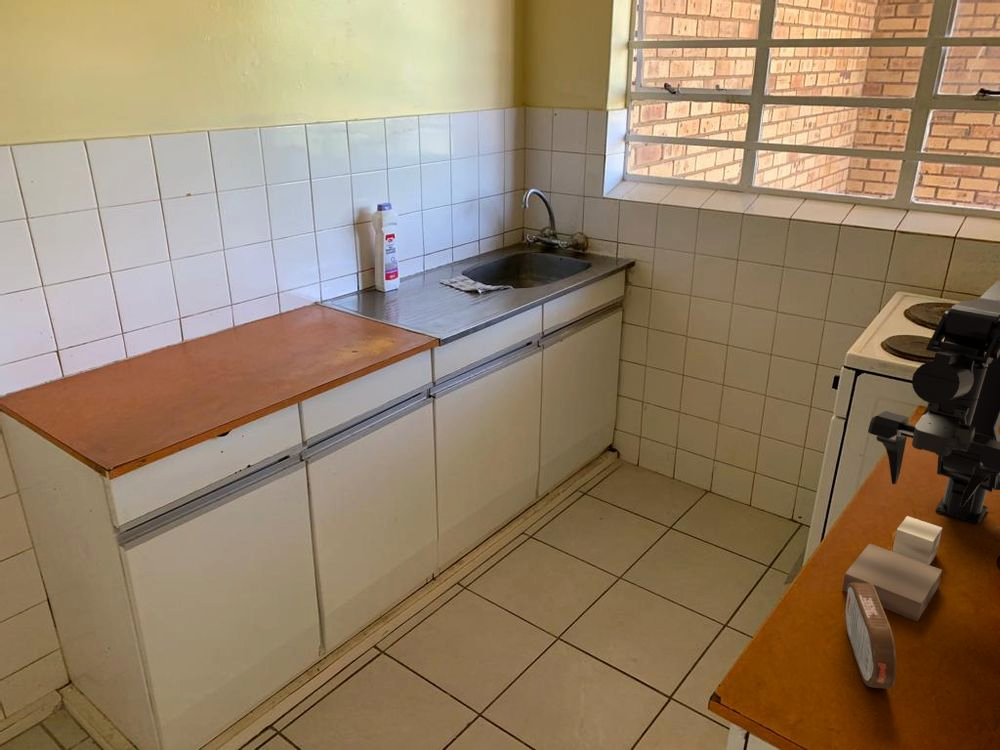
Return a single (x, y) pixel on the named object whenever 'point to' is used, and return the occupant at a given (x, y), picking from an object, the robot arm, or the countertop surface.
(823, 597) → the countertop surface
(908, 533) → the block
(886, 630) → the tin
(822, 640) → the countertop surface
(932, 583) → the base
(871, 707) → the countertop surface
